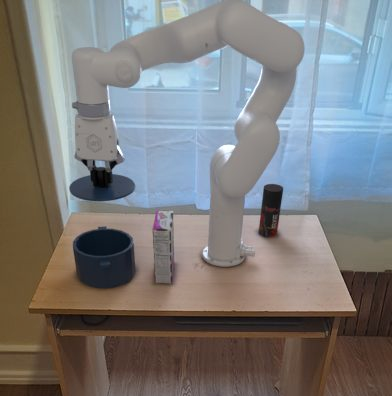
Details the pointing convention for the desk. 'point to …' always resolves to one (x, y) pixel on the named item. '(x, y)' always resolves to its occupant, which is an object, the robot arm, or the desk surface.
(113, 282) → the pot
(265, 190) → the deodorant
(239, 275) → the desk surface
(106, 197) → the pot lid
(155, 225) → the candy bar box
